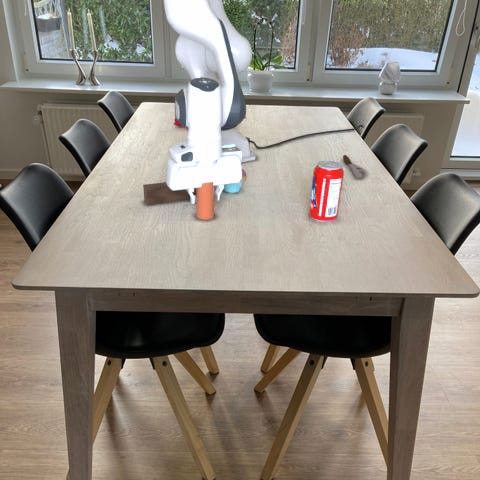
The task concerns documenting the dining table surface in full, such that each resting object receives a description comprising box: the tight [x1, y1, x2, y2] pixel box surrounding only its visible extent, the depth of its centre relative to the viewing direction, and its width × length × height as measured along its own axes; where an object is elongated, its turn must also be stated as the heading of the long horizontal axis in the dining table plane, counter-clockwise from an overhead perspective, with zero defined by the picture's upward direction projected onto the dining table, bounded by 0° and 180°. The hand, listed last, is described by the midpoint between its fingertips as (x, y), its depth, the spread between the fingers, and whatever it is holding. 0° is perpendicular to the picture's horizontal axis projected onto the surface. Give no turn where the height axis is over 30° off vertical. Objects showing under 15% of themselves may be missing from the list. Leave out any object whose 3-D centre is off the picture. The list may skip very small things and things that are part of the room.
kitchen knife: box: [342, 154, 365, 179], centre depth 180 cm, size 21×2×5 cm
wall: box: [142, 181, 196, 206], centre depth 150 cm, size 20×3×5 cm, turn 114°
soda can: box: [308, 160, 345, 223], centre depth 140 cm, size 8×8×15 cm
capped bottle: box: [195, 182, 215, 221], centre depth 139 cm, size 5×5×11 cm
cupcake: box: [223, 168, 248, 194], centre depth 156 cm, size 9×8×12 cm
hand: (204, 201), depth 140 cm, fingers closed on capped bottle, 5 cm apart
